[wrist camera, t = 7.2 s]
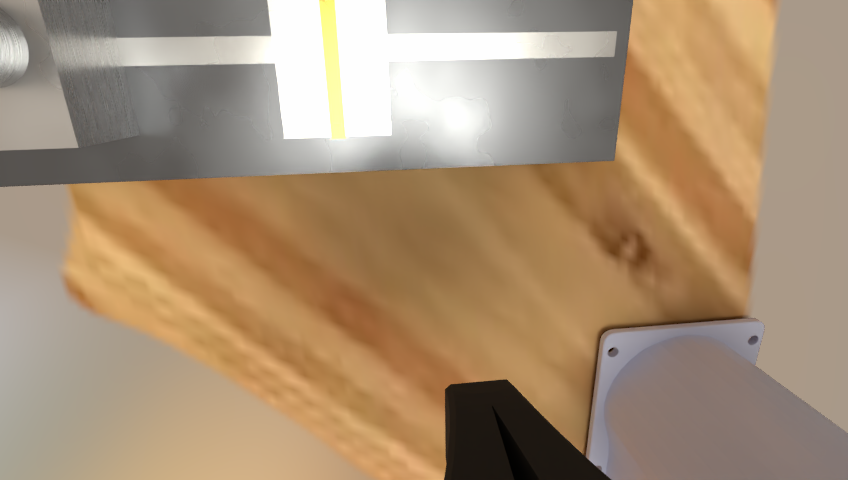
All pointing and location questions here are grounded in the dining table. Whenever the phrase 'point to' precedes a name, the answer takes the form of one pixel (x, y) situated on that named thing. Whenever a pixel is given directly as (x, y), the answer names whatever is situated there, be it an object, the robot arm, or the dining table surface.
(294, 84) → the block
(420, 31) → the plate
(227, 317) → the dining table surface
